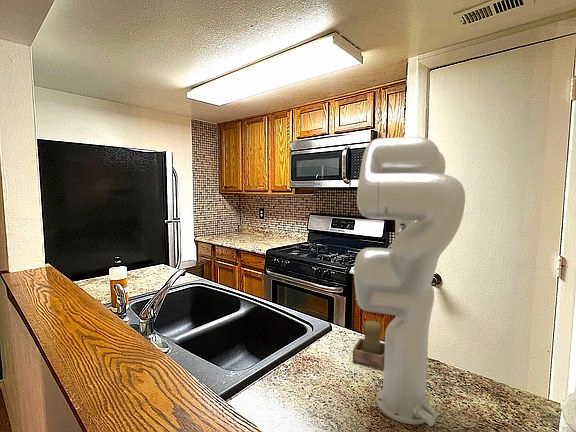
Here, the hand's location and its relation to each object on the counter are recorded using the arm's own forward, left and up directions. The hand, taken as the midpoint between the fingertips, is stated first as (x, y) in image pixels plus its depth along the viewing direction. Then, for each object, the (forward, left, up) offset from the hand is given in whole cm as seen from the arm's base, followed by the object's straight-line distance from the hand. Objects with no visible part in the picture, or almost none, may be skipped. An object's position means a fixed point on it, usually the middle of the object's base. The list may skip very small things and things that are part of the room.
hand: (403, 256), depth 95 cm
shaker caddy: (+3, +9, -32) cm, 34 cm away
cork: (+3, +9, -32) cm, 33 cm away
